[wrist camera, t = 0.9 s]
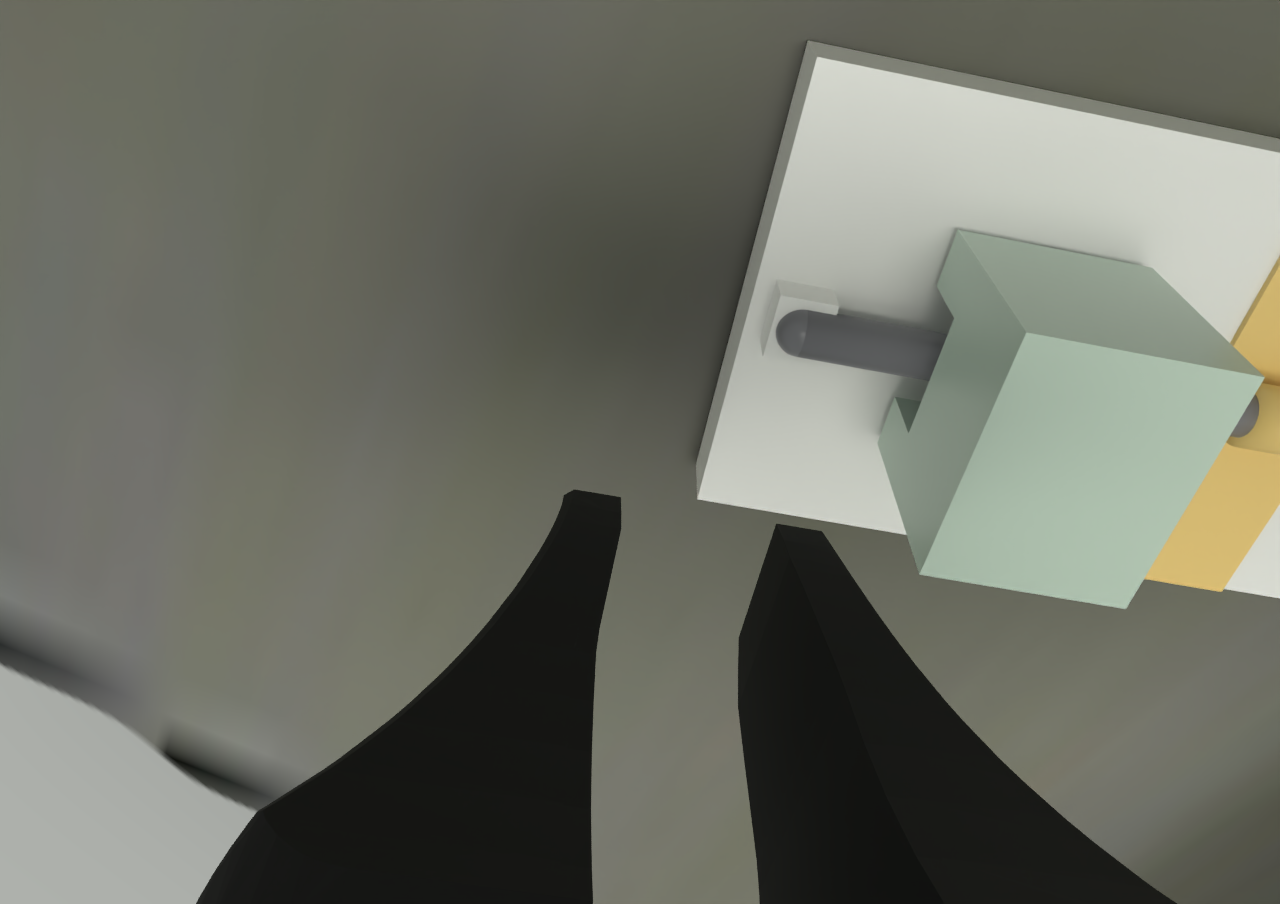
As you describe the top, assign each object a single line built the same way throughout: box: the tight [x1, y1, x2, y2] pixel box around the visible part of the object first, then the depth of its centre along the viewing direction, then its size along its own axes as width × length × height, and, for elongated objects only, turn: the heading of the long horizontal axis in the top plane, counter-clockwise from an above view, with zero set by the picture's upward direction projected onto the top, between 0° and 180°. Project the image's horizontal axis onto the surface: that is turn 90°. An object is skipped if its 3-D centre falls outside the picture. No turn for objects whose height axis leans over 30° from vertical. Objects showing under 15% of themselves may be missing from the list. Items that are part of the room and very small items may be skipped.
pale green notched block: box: [877, 230, 1265, 609], centre depth 19 cm, size 4×5×4 cm
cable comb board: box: [696, 40, 1280, 598], centre depth 21 cm, size 18×10×4 cm, turn 79°
